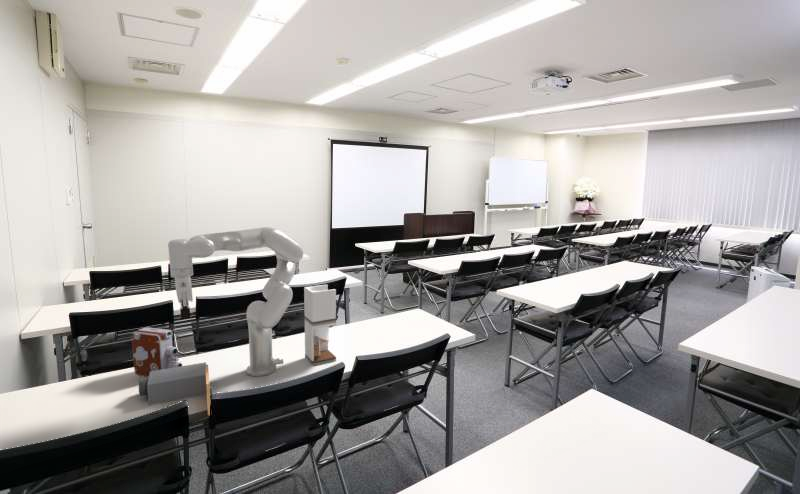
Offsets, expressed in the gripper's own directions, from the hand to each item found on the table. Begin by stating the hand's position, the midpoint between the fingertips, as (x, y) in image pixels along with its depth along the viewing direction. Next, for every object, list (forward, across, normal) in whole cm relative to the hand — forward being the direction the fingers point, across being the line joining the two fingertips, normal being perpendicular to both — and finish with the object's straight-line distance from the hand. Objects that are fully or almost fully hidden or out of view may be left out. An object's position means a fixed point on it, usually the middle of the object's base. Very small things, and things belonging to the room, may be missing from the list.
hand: (185, 317), depth 154 cm
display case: (+32, +4, -55) cm, 64 cm away
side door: (+30, -14, -5) cm, 34 cm away
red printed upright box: (+30, +21, +11) cm, 39 cm away
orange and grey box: (+30, +1, +6) cm, 31 cm away
